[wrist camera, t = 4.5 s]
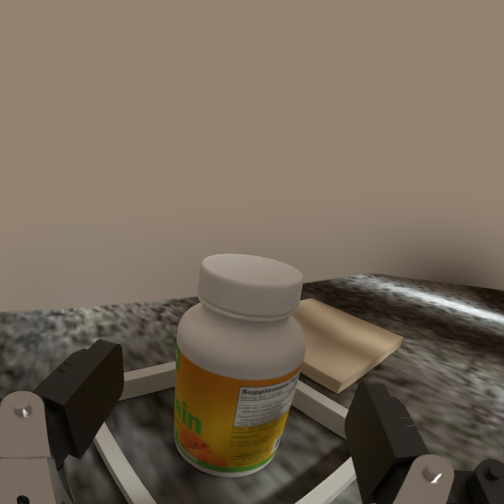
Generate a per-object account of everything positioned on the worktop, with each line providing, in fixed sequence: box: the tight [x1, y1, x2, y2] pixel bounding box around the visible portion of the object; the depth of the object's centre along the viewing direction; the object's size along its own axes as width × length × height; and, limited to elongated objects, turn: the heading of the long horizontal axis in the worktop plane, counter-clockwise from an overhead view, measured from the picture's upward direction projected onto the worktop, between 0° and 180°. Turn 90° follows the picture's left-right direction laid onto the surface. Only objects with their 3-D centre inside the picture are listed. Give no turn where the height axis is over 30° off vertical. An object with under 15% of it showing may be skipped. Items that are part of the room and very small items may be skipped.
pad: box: [292, 298, 403, 394], centre depth 28 cm, size 12×12×1 cm
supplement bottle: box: [174, 254, 306, 477], centre depth 13 cm, size 5×5×10 cm
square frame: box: [93, 361, 356, 504], centre depth 14 cm, size 13×13×1 cm
